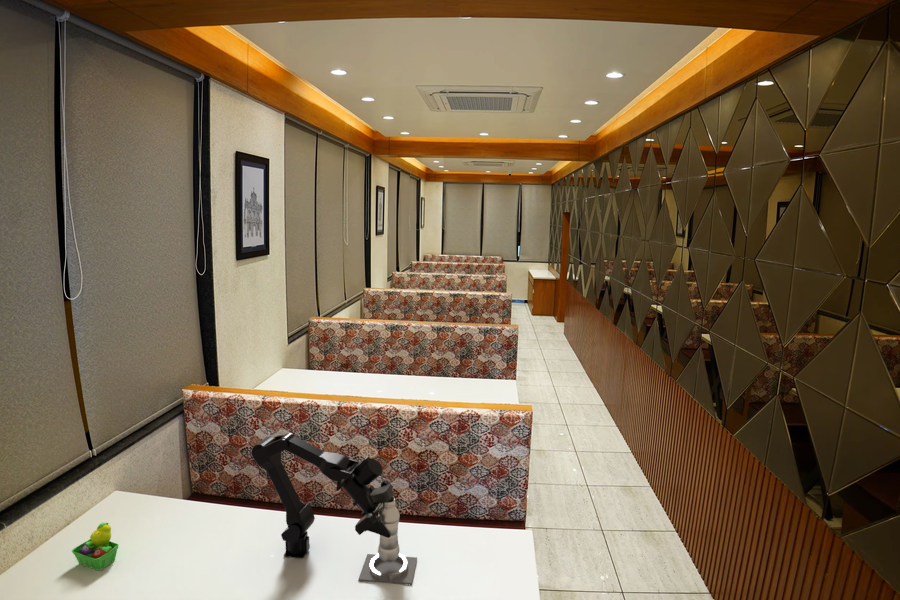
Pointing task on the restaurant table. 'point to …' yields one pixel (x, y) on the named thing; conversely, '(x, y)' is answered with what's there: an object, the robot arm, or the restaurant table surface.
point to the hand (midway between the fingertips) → (393, 530)
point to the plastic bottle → (390, 520)
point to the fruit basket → (97, 549)
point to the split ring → (392, 575)
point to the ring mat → (388, 570)
